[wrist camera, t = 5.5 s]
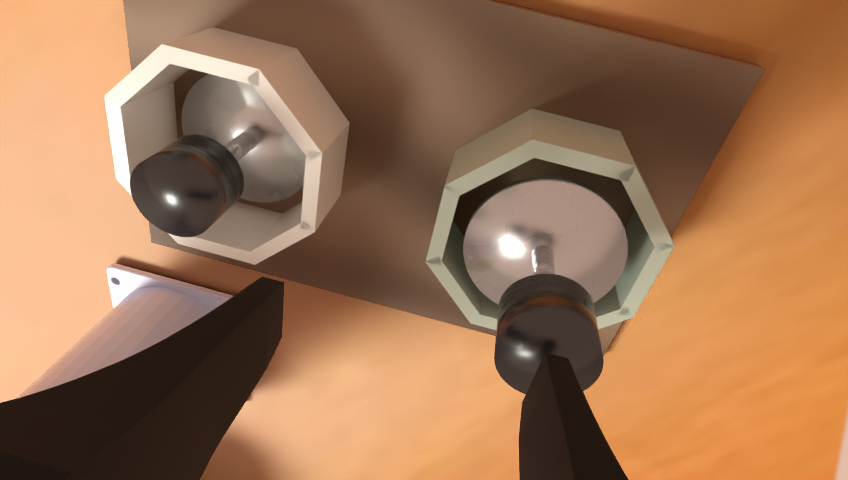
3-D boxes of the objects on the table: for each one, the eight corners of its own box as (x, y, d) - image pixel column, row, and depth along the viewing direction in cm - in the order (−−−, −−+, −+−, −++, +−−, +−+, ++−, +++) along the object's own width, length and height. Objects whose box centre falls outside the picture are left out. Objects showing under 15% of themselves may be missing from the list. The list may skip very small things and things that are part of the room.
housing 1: (335, 238, 25) (310, 279, 22) (170, 194, 25) (124, 229, 22) (357, 63, 20) (328, 86, 17) (154, 11, 20) (93, 26, 17)
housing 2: (598, 309, 24) (608, 361, 21) (427, 263, 24) (413, 308, 22) (683, 146, 20) (709, 185, 17) (470, 92, 20) (460, 120, 17)
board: (597, 355, 26) (598, 364, 26) (158, 236, 27) (151, 242, 27) (758, 65, 18) (764, 69, 18) (123, -93, 19) (112, -93, 19)
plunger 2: (590, 326, 21) (609, 452, 16) (448, 288, 21) (424, 401, 16) (654, 201, 18) (704, 311, 13) (487, 158, 18) (471, 249, 13)
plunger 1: (312, 212, 24) (254, 289, 19) (190, 180, 24) (101, 248, 19) (323, 87, 21) (257, 140, 16) (182, 51, 21) (72, 91, 16)
